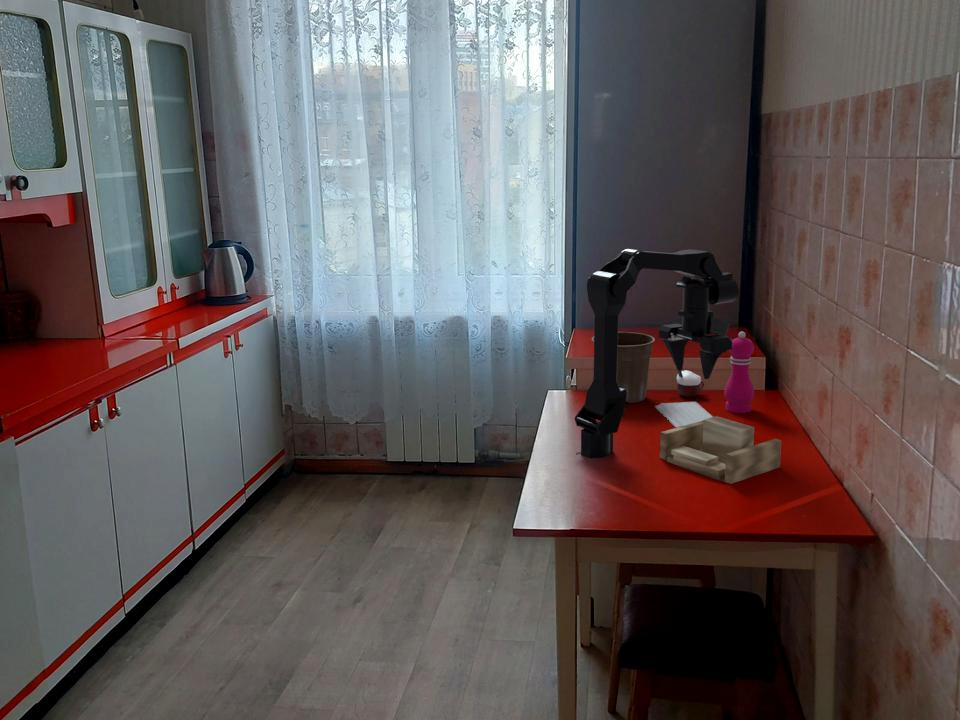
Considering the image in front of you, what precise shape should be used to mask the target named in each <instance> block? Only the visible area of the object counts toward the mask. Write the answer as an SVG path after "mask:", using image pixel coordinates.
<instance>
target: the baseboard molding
mask: <svg viewBox="0 0 960 720" xmlns="http://www.w3.org/2000/svg"><path fill="white" fill-rule="evenodd" d="M678 399H679V401H681V400H682V402H667V403H665V402H662V401H664V399H662V400H660V399H655V400H654V401H655V402H657V401H661V403H660V404H658V405H655V402H652V403H650V406H652V408H655V409H656V410H657V411H658V412H659V413H660V414H661V415H662V414H663V415H662V416H663V417H664V418H665V417H666V418H667V419H666V418H665V419H666V420H667V421H668V420H669V421H668V422H669V423H670V424H671V425H672V426H673V427H674V428H678V427H681V426H685V425H689V424H692V423H696V422H700V421H703V420H704V419H708V418H711V417H714V416H713V415H712V414H710V412H708V411H707V410H706V409H705V408H703V406H701V405H700V404H699V403H698V402H697V401H695V400H696V398H693V400H694V401H684V400H687V398H685V399H680V398H679V396H678V397H670V399H669V400H678ZM683 401H684V402H683Z"/></svg>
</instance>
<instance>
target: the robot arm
mask: <svg viewBox="0 0 960 720" xmlns="http://www.w3.org/2000/svg"><path fill="white" fill-rule="evenodd" d="M642 269H645V270H661V271H673V272H675V273H679V274H682V275H685V276H683V277H682V278H681V279H680V280H679V281H678V282H677V283H676V284H675V287H676V288H681V289H682V290H683V291H682V310H681V309H680V310H678V316H681V317H682V318H681V320H682V321H681V322H682V323H681V324H680V323H671V324H662V325H661V327H660V328H659V330H658V338H660V339H662V340H661V341H662V343H664V346H665V347H666V349H667V351H668V352H669V355H670V356H671V359H672V361H673V363H674V365H675V368H676V370H681V371H683V367H684V360H685V359H684V358H685V349H686V346H687V344H688V343H689V341H691V342H695V343H698V344H699V345H700V348H701V350H698V351H699V358H700V363H701V370H702V374H703V379H705V380H709V379H710V377H711V375H712V372H713V370H714V368H715V365H716V363H717V361H718V359H719V358H720V356H722V355H723V354H724V353H725V354H726V353H727V352H729V350H732V340H733V339H732V338H731V337H730V336H728V335H727V333H728V331H729V327H730V322H726V321H724V320H721V319H719V318H715V317H714V312H713V311H712V310H710V305H720V304H727V303H733V302H735V301H736V300H737V299H738V297H739V293H740V289H739V286H738V284H737V282H736V280H735V279H734V276H733V274H734V273H732V272H722V271H721V269H720V267H719V264H718V263H717V262H716V257H715V256H714V253H713V252H710V251H705V250H699V249H683V250H679V251H676V252H662V251H661V252H660V251H648V250H647V251H646V250H641V249H635V248H634V249H633V248H626V249H624V250H621V252H620V253H619V254H618V255H617V256H616V257H615V258H613V259H611V260H610V261H608V262H607V263H605V264H603V265H602V266H601V267H600V268H599V269H598V270H597V271H595V272H593V273H592V274H591V275H590V276H589V277H588V279H587V282H586V291H587V299H588V303H589V305H590V307H591V309H592V312H593V315H594V332H593V333H594V334H593V335H594V343H593V380H592V382H591V384H590V385H589V388H587V391H586V395H585V402H584V404H583V405H582V407H581V408H580V409H579V411H578V412H577V414H576V415H575V416H574V418H573V419H574V421H575V422H574V423H575V425H576V427H580V428H581V430H580V451H578V452H575V455H577V456H578V455H582V456H584V457H586V458H589V459H594V458H597V459H599V458H600V459H601V458H606V457H608V456H610V454H612V453H613V452H614V434H616V433H618V431H619V427H620V425H621V421H622V418H623V417H624V415H625V409H627V408H628V407H627V402H626V395H627V393H626V390H625V389H623V388H620V387H619V386H618V383H617V349H618V332H619V316H620V314H621V312H622V310H623V309H624V308H625V307H624V306H625V304H626V302H627V297H628V291H629V290H630V289H631V288H632V287H633V286H634V285H635V284H636V282H637V279H638V276H639V273H640V271H642ZM688 276H689V277H688ZM691 277H692V278H691Z"/></svg>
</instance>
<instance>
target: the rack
mask: <svg viewBox="0 0 960 720" xmlns="http://www.w3.org/2000/svg"><path fill="white" fill-rule="evenodd" d="M659 444H660V445H659V447H660V448H659V450H660V451H659V459H661V460H664V461H667V457H669V456H672V454H671V451H672V450H673V449H676V448H679V447H682V446H685V447H689V448H692V449H695V450H698V451H701V452H702V445H703V421H700V422H696V423H692V424H689V425H685V426H680V427H676V428H675V427H674V428H671V429H667V430H664V431H660V443H659ZM781 451H782V440H780V439H778V438H774V439H771V440H767V441H764V442H761V443H757V444H755V445H754V444H753V446H751V447H747V448H744V449H741V450H738V451H734V452H731V453H728V454H726V465H725V479H723V480H720V481H721V482H725V483H727V484H730V485H732V484H735V483H737V482H740V481H744V480H747V479H750V478H753V477H756V476H759V475H761V474H764V473H767V472H770V471H773V470H776V469H779V468H781ZM718 462H719V461H718ZM721 463H722V462H721ZM724 464H725V463H724Z"/></svg>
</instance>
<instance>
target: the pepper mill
mask: <svg viewBox="0 0 960 720" xmlns="http://www.w3.org/2000/svg"><path fill="white" fill-rule="evenodd" d="M737 336H738V337H736V338H734V339H732V350H728V352H729V354H730V355H731V356H730V363H731V368H732V369H731V374H730V377H729V379H728V381H727V382H726V385H725V388H724V392H723V394H724V396H725V398H726V399H727V401H725V410H726V411H728V413H729V412H730V413H733V412H734V413H733V414H747V413H746V412H748V413H751V411H752V407H753V404H752V402H751V400H753V399H754V397H755V388H754V386H753V383H752V381H751V378H750V374H749V373H750V372H749V368H750V364H752V357H751V356H752V355H753V353H754V351H755V345H754V343H753V341H752V340H751V339H749V338H747V337H746V332H744V331H740V332H739V333H738V334H737Z"/></svg>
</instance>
